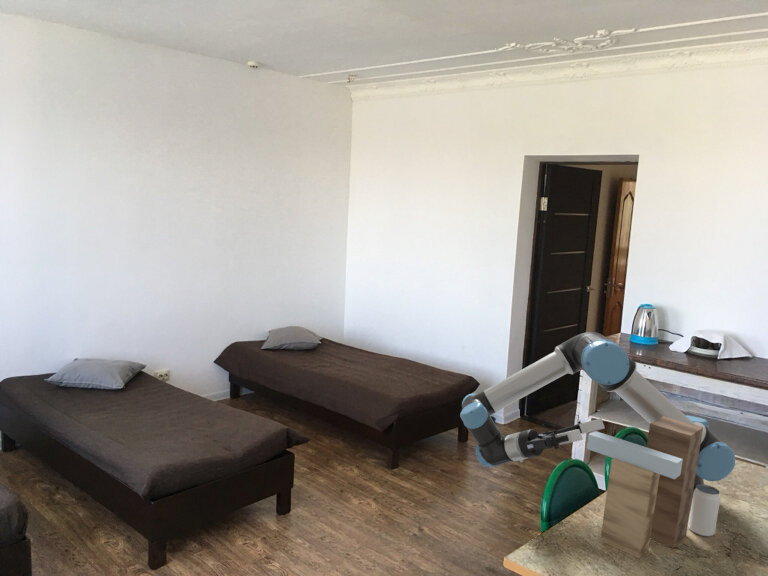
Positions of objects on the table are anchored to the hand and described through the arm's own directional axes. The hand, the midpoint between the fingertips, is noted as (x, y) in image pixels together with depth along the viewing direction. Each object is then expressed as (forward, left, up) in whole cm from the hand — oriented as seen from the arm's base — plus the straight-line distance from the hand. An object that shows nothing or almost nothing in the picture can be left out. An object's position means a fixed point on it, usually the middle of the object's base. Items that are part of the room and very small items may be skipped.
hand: (592, 428), depth 162 cm
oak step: (0, +12, -27) cm, 30 cm away
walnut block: (-14, +16, -27) cm, 35 cm away
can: (-25, +23, -27) cm, 44 cm away
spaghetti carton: (0, +11, -5) cm, 12 cm away
